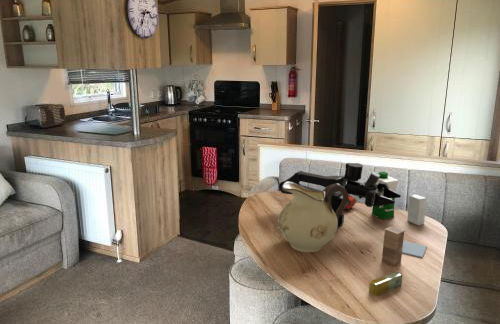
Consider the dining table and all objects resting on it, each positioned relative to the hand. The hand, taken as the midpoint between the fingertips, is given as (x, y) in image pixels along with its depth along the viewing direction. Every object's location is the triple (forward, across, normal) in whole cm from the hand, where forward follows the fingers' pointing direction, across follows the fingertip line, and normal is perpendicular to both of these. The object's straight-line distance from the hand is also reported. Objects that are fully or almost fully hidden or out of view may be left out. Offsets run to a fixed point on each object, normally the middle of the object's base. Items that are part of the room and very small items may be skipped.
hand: (397, 199), depth 154 cm
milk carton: (-9, +22, +17) cm, 29 cm away
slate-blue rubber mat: (+9, -6, +16) cm, 19 cm away
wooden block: (+6, -20, +17) cm, 27 cm away
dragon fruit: (-27, +21, +18) cm, 39 cm away
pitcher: (-25, -24, +19) cm, 40 cm away
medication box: (+8, -38, +18) cm, 43 cm away
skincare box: (+5, +22, +16) cm, 28 cm away
